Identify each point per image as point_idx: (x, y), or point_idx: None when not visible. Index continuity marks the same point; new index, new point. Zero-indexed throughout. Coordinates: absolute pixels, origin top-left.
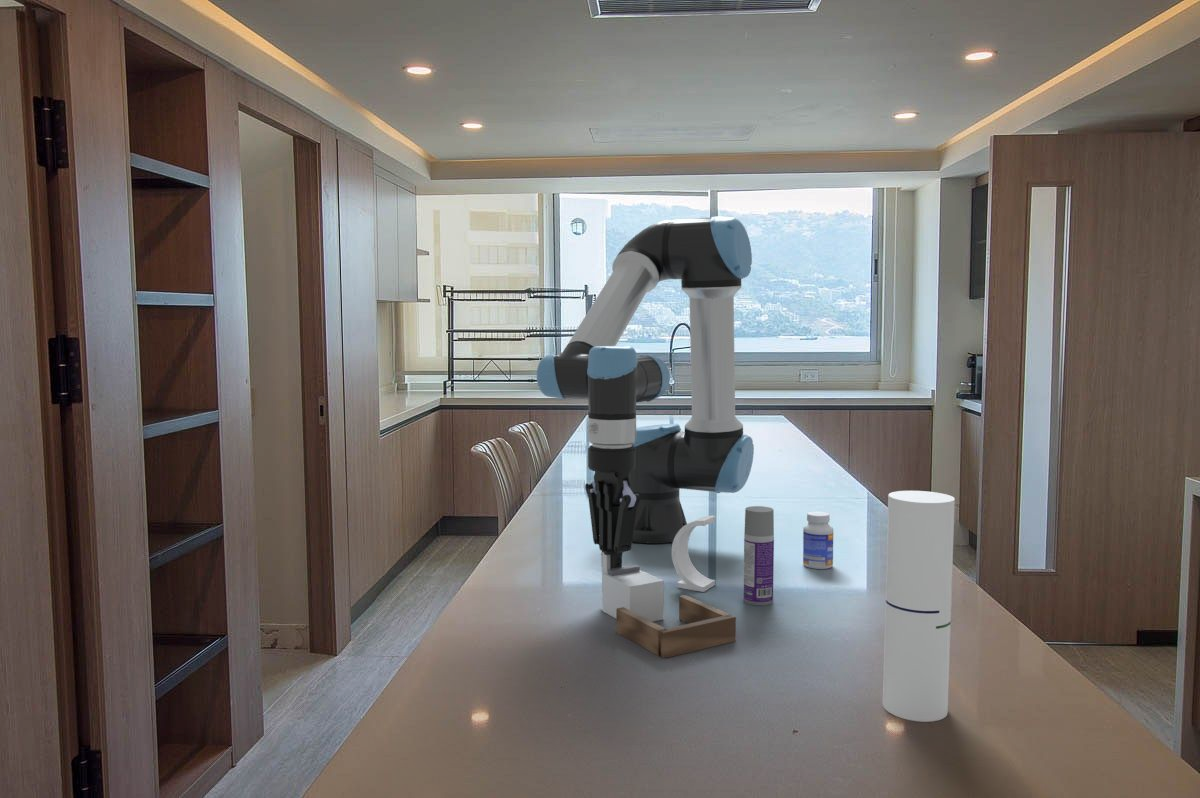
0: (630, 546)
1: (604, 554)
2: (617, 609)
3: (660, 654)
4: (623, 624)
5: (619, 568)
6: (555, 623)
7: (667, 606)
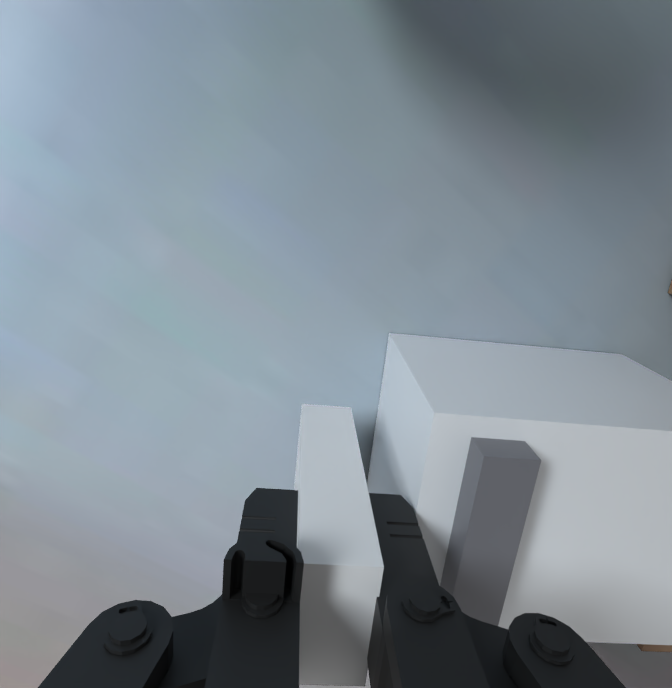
0: (601, 668)
1: (327, 675)
2: (648, 649)
3: None
4: None
5: (480, 591)
6: (366, 676)
7: (509, 215)
